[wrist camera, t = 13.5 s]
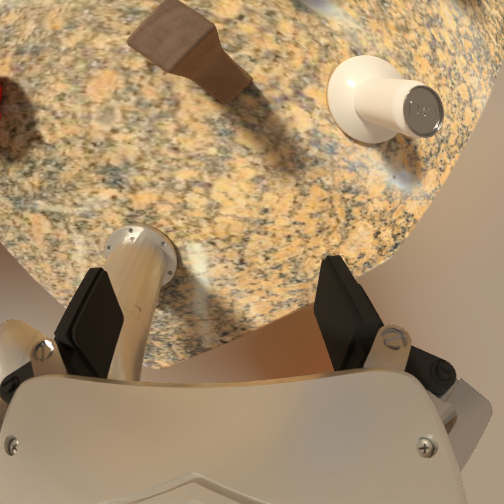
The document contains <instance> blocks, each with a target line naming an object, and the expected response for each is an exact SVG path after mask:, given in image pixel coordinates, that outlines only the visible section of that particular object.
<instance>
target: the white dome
mask: <svg viewBox="0 0 504 504" xmlns="http://www.w3.org/2000/svg"><path fill="white" fill-rule="evenodd" d="M373 78H377V79H402V80H403V78H402V76H401V75H400V74H399V72H398V71H397V70H396V69H395V68H394V67H393V66H392V65H390V64H389V63H388V62H386V61H384V60H382V59H380V58H377V57H374V56H368V55H362V56H355V57H352V58H349V59H346V60H344V61H343V62H341V63H340V64H339V65H338V66H337V67H336V68H335V69H334V71H333V72H332V74H331V76H330V78H329V80H328V84H327V90H326V99H327V105H328V108H329V112H330V114H331V116H332V118H333V120H334V121H335V123H336V124H337V125H338V127H339V128H340V129H341V130H342V131H343V132H345V133H346V134H347V135H349V136H350V137H352V138H354V139H356V140H358V141H361V142H364V143H374V144H375V143H382V142H385V141H387V140H390V139H391V138H393V137H394V136H396V135H397V134H398V133H399V132H396V131H393V130H390V129H388V128H385V127H382V126H379V125H376V124H374V123H371V122H368V121H366V120H364V119H363V118H362V117H360V115H359V114H358V113H357V111H356V110H355V107H354V104H353V93H354V90H355V88H356V86H357V85H358V84H359V83H360V82H361V81H363V80H365V79H373Z"/></svg>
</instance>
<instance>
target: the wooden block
mask: <svg viewBox="0 0 504 504" xmlns="http://www.w3.org/2000/svg"><path fill="white" fill-rule="evenodd" d="M127 43H128V45H129V46H130V47H132V48H133V49H135V50H136V51H138V52H139V53H140V54H142V55H143V56H145V57H146V58H148V59H149V60H150V61H152V62H153V63H155V64H156V65H157V66H159V67H160V68H161V69H163V70H164V71H165V72H168V73H172V74H175V75H179V76H183V77H186V78H189V79H191V80H193V81H194V82H196V83H197V84H199V85H200V86H202V87H203V88H204V89H206V90H207V91H208V92H210V93H211V94H212V95H213V96H214V97H216V98H217V99H218V100H219V101H221V102H222V103H223V104H225V105H226V104H229V103H230V102H231V101H232V100H233V99H234V98H235V97H236V96H237V95H238V94H239V93H240V92H241V91H242V90H243V89H244V88H245V87H246V86H247V85H248V84H249V83H250V82H251V81H252V77H251V76H250V75H249V74H248V73H247V72H246V71H245V70H243V69H242V68H241V67H240V66H239V65H238V64H237V63H235V62H234V61H233V60H232V59H231V58H230V57H229V56H228V55H227V54H226V53H225V52H224V50H223V49H222V48H221V44H220V40H219V37H218V33H217V29H216V27H215V25H214V24H213V23H212V22H210V21H209V20H207V19H206V18H205V17H203V16H202V15H200V14H199V13H197V12H196V11H194V10H193V9H191V8H190V7H188V6H187V5H185V4H184V3H182V2H180V1H179V0H164V1H163V2H162V3H161V4H160V5H159V6H158V7H157V8H156V9H155V10H154V11H153V12H152V13H151V14H150V15H149V16H148V17H147V18H146V19H145V20H144V21H143V22H142V23H141V24H140V26H139V27H138V28H137V29H136V30H135V31H134V32H133V33H132V34H131V36H130V37H129V38H128V40H127Z"/></svg>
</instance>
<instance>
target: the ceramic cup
mask: <svg viewBox="0 0 504 504" xmlns="http://www.w3.org/2000/svg"><path fill="white" fill-rule="evenodd" d="M1 99H2V87H1V84H0V103H1ZM0 119H1V113H0Z"/></svg>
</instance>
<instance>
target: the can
mask: <svg viewBox="0 0 504 504" xmlns="http://www.w3.org/2000/svg"><path fill="white" fill-rule="evenodd" d="M353 104H354V107H355V110H356V111H357V113H358V114H359V115H360V117H362V118H363V119H364V120H366V121H368V122H371V123H374V124H376V125H379V126H382V127H385V128H388V129H390V130H393V131H396V132H399V133H401V134H404V135H407V136H409V137H413V138H421V137H423V138H428V137H431V136H433V135H435V134H436V133H437V132H438V131H439V129H440V128H441V126H442V123H443V119H444V109H443V105H442V102H441V99H440V97H439V96H438V94H437V93H436V92H435V91H434V90H433V89H432V88H430V87H428V86H425V85H424V84H422V83H420V82H418V81H413V80H402V79H377V78H373V79H365V80H363V81H361V82H360V83H359V84H358V85H357V86H356V88H355V90H354V93H353Z"/></svg>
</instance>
